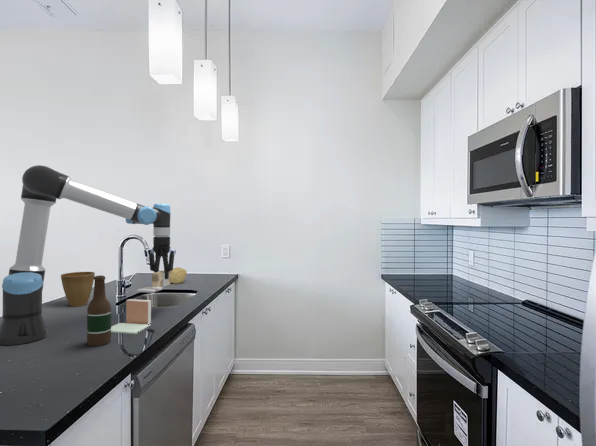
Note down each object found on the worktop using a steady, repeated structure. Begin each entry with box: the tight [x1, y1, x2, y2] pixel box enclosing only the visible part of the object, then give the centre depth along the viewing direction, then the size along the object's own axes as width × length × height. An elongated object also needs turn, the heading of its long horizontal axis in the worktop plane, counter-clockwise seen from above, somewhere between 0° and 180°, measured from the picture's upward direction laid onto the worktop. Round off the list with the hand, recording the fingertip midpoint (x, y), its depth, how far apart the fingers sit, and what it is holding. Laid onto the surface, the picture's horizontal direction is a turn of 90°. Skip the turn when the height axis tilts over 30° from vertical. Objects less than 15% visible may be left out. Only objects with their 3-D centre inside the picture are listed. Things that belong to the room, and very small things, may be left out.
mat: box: [111, 322, 152, 335], centre depth 150 cm, size 11×14×1 cm
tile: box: [125, 298, 152, 325], centre depth 157 cm, size 2×10×10 cm, turn 82°
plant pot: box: [60, 271, 96, 308], centre depth 188 cm, size 15×15×16 cm
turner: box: [136, 269, 171, 293], centre depth 172 cm, size 20×8×7 cm, turn 172°
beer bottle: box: [86, 274, 112, 347], centre depth 133 cm, size 8×8×24 cm
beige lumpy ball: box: [170, 266, 188, 285], centre depth 256 cm, size 11×12×11 cm
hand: (161, 285), depth 176 cm, fingers closed on turner, 3 cm apart
